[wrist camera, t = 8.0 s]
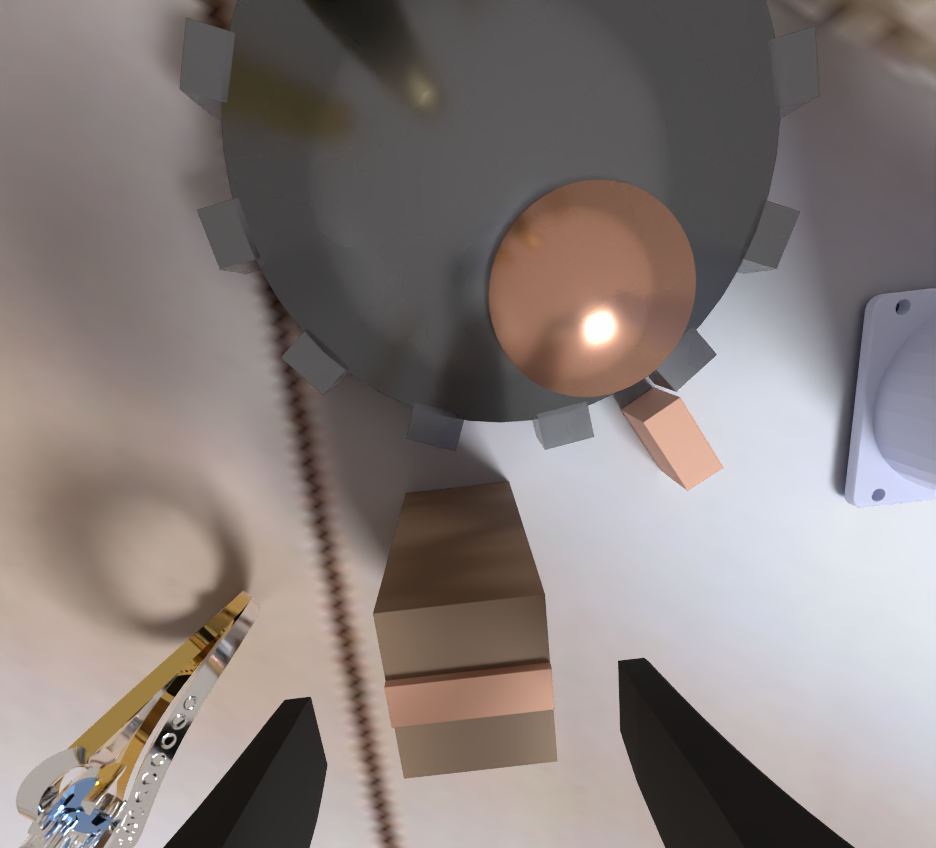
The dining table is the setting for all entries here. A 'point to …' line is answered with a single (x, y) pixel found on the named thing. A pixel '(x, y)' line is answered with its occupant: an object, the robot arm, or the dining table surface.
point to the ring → (130, 746)
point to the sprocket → (499, 189)
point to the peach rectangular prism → (672, 437)
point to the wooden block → (465, 635)
